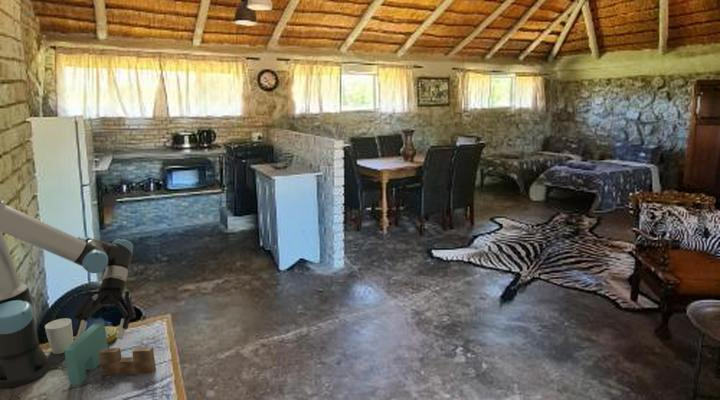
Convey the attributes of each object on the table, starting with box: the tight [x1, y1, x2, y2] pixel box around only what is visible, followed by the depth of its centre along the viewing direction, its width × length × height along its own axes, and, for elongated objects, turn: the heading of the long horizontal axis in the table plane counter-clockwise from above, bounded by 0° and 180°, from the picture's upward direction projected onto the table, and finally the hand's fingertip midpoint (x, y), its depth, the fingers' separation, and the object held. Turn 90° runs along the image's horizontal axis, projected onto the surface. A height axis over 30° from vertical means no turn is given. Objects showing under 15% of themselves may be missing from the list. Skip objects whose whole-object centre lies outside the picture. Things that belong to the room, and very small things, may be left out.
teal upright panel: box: [63, 321, 109, 386], centre depth 151 cm, size 18×3×12 cm, turn 2°
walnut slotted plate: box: [99, 346, 157, 376], centre depth 149 cm, size 16×2×8 cm, turn 92°
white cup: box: [44, 317, 74, 355], centre depth 164 cm, size 8×8×10 cm
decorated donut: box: [105, 325, 118, 344], centre depth 170 cm, size 10×11×4 cm
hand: (99, 339), depth 157 cm, fingers open, 13 cm apart
